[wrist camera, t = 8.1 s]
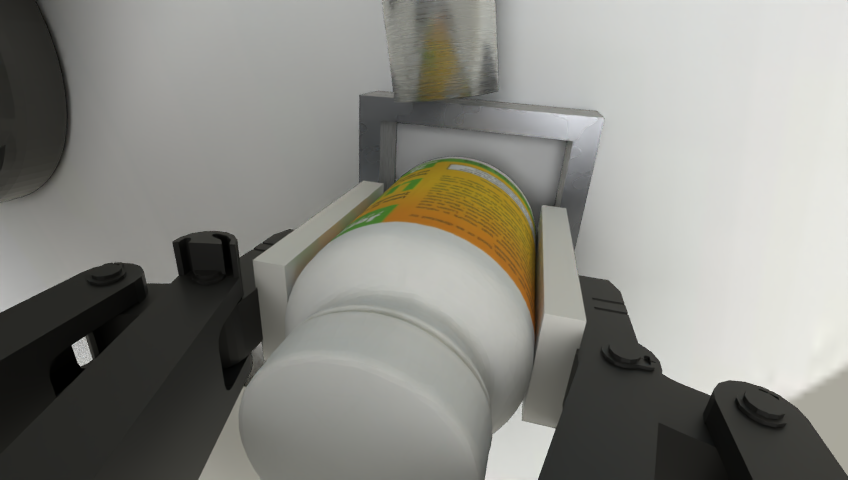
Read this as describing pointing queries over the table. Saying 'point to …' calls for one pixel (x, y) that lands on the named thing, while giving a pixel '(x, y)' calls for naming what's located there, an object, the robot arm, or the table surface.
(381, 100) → the collar
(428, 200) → the supplement bottle
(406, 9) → the shaft
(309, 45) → the table surface
